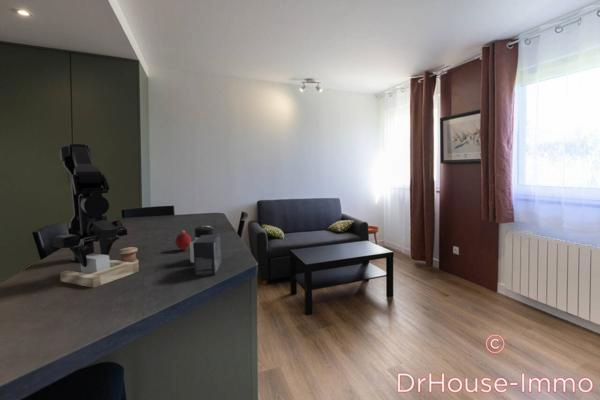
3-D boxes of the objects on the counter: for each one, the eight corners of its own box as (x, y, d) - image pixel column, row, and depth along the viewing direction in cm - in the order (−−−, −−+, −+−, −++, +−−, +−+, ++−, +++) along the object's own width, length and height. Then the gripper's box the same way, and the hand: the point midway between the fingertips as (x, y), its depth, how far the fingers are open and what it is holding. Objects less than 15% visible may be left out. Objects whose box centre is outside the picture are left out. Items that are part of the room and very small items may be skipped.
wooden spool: (115, 265, 98) (114, 250, 97) (130, 260, 103) (129, 246, 103) (127, 267, 96) (126, 252, 95) (142, 262, 101) (141, 248, 101)
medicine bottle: (209, 264, 98) (207, 229, 97) (190, 263, 100) (188, 228, 99) (219, 258, 105) (218, 225, 104) (201, 257, 107) (199, 224, 106)
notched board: (60, 281, 84) (60, 272, 84) (108, 266, 97) (107, 259, 97) (93, 287, 79) (92, 278, 78) (139, 271, 92) (138, 263, 91)
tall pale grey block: (81, 276, 88) (80, 256, 88) (95, 271, 92) (93, 253, 91) (97, 279, 86) (95, 259, 85) (110, 274, 89) (109, 255, 89)
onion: (188, 252, 113) (187, 232, 113) (173, 252, 113) (172, 232, 113) (193, 248, 119) (193, 229, 118) (179, 248, 119) (178, 229, 118)
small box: (202, 265, 97) (200, 234, 96) (222, 264, 98) (221, 233, 97) (193, 276, 87) (191, 241, 86) (215, 275, 87) (214, 241, 86)
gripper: (74, 218, 75) (79, 277, 77) (138, 209, 93) (141, 257, 94) (48, 216, 79) (53, 272, 81) (114, 208, 97) (117, 254, 98)
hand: (95, 263), depth 88 cm, fingers open, 6 cm apart
